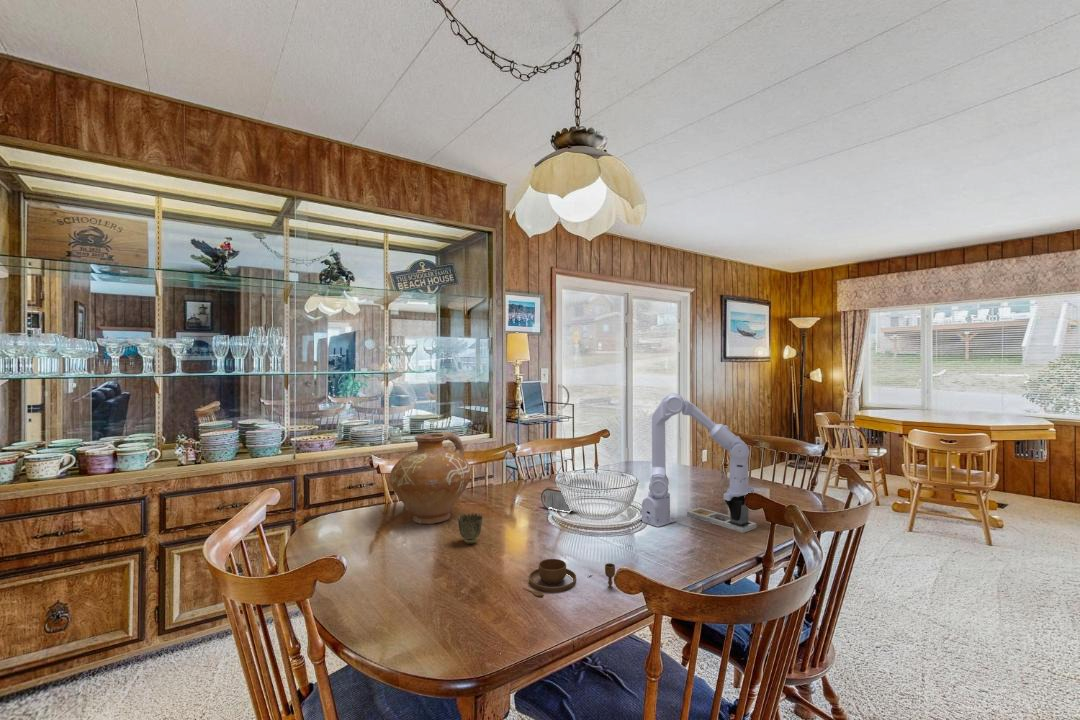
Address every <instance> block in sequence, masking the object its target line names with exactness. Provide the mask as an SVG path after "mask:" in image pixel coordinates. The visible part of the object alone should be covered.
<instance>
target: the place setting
mask: <svg viewBox="0 0 1080 720" xmlns="http://www.w3.org/2000/svg"><path fill="white" fill-rule="evenodd" d="M566 574H568V575H570V576H571V577H572V578H573V582H572V581H571V582H570V583H568V584H565V585H560V586H544V585H540V584H538V583H536V582H534V579H535V578H537V577H538V576H539V577H540V578H539V579H541V580H542V581H544V583H546V584H548V585H558V584H560V583H561V582H562V581H563V580H565V578H566V576H567V575H566ZM604 574H605V576H606V577H607V578H608V581H607V584H608V585H607V588H608V589H613V577H614V576H615V575H616V565H615V564H614V563H611V562H610V563H606V564H604ZM588 576H589V575H588ZM591 577H593V574H592V575H590V576H589V577H588V578H591ZM528 581H529V584H530V585H531V586H532V587H534V588H535V589H536V590H537V591H534V590H531V589H529V588H526V587H522V590H525V591H527V592H530V593H532V595H533V596H534V597H537V598H538V597H541V598H542V597H543V596H544V593H543V592H549V593H558V592H563V591H567V590H569V589H571V588H572V587H573V586H574V585H576V581H577V574H576V573H575V572H574V571H572V570H571V569H568V568H567V563H566V562H565V561H564V560H561V559H559V558H547V559H544V560H543V559H542V560H541V561H540V562H539V563H538V568H536V569H534V570H533V571H531V572H529V576H528Z"/></svg>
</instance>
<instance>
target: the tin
mask: <svg viewBox="0 0 1080 720" xmlns="http://www.w3.org/2000/svg"><path fill="white" fill-rule="evenodd" d="M559 488H560V487H558V486H552V485H551V486H547V487H546V488H544V490H542V491H541V494H540V499H541V503H542V506H544V508H545V509H546V510H549V509H548V508H549V507H552V508H555V509H559V510H564V511H570V509H569V507H568V505H567V504H566V502H565V499H564V497H563V495H562V493H561V491H560V489H559Z"/></svg>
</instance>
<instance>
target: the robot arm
mask: <svg viewBox="0 0 1080 720" xmlns="http://www.w3.org/2000/svg"><path fill="white" fill-rule="evenodd" d="M680 413H682V415H684V416H689V417H692V418H693V419H694V420H696V421H697V422H698V423H699V424H701V425H702V426H703V427H704V428H705V429H706V430H708V431H709V438H711V439H712V440H713V441H714V442H716V443H717V444H718V445H719V446H721V447H722V448H723V449H724V450H726V451H728V452H729V454H730V455H729V489H728V490H727V491H726V492H725V493H723V500H724V501H725V503H726V505H727V507H728V510H729V515H730V514H731V517H732V519H733V520H736V521H738V520H739V516H740V508H741V505H742V502H744V496H745V495H746V494H748V493H753V494H754V493H755V487H753V486H749V463H748V461H749V458H748V457H749V456H750V452H751V451H750V448H749V447H748V445H747V444H746V443H745V442H744V440H743V439H741V437H740V436H739V435H736V434H735V433H734V432H732V431H731V430H730V429H729V428H730V427H729V426H728V425H726V424H725V425H724V424H723V423H715V422H714V421H713V420H712V419H710V417H709V416H708V415H706V414H705V413H704V412H703V411H702V410H701V409H700V408H698V407H697V406H696V405H695V404H694V403H693V402H691V401H689V400H688V399H686V398H683V396H681V395H680V394H679V393H676V392H674V393H670V394H668V395H667V396H665V397H664V398H663V399H662V400H661V402H660V403H659V404H658V406H657V407H656V409H655V410H654V411H653V413H652V415H651V465H652V466H651V467H652V468H651V477H650V480H649V486H648V489H649V491H648V495H647V497H645V498H644V499H643V500H642V502H641V519H642V521H641V522H643V523H645V524H648V525H651V526H654V527H659V528H660V527H661V526H665V525H668V524H672V523H674V522H676V521H677V520H676V519H673V518H671V494H670V492H669V483H670V482H669V478H668V477H667V473H666V471H667V470H666V469H667V468H666V467H667V466H666V422H667V421H668V420H670V419H671V418H672V417H673V416H676V415H678V414H680ZM749 509H750V508H749ZM749 509H748V511H749Z"/></svg>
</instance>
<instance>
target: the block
mask: <svg viewBox="0 0 1080 720" xmlns="http://www.w3.org/2000/svg"><path fill="white" fill-rule="evenodd" d="M729 516H730V523H731V524H735V525H738V526H741V527H743V526H746V525H748V521H749V510H748V508H747V507H746V506H745V504H744V502H742V505H741V508H740V516H739V520H738V521H736V520H733V519H732V517H731V514H730V513H729Z"/></svg>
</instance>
